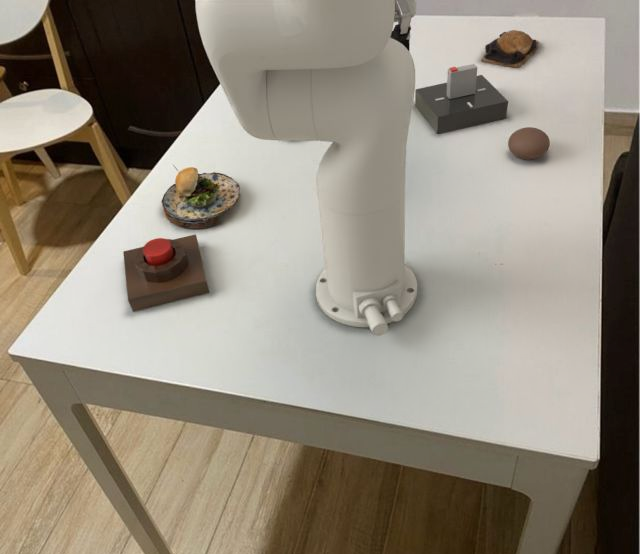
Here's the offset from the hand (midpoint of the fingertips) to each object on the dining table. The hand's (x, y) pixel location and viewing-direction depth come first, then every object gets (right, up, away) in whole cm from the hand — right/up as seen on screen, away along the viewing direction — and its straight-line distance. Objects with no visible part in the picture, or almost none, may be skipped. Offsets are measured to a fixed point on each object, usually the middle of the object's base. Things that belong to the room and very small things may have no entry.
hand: (386, 55), depth 92 cm
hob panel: (+14, -2, +18) cm, 23 cm away
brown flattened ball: (+22, -12, +8) cm, 26 cm away
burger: (-27, -20, +7) cm, 34 cm away
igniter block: (-30, -31, -4) cm, 43 cm away
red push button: (-30, -29, -7) cm, 42 cm away
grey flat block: (+14, 0, +16) cm, 21 cm away
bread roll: (+26, +13, +31) cm, 43 cm away
